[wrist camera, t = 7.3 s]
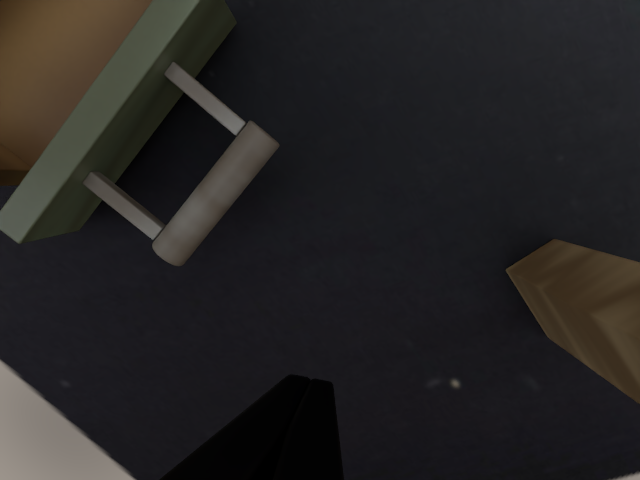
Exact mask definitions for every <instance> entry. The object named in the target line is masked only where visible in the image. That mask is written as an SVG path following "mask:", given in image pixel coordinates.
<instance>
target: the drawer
mask: <svg viewBox="0 0 640 480" xmlns="http://www.w3.org/2000/svg"><path fill="white" fill-rule="evenodd" d="M236 23H237V22H236V20H235V18H234V16H233V15H232V13H231V11H230V9H229V8H228V6H227V4H226V2H225V1H224V0H0V186H10V185H19V186H18V187H17V189H16V190H15V191H14V193H13V194H12V196H11V197H10V198H9V200H8V201H7V202H6V204H5V205H4V207H3V208H2V209H1V211H0V230H1V231H3V232H4V233H5V234H6V235H8V236H9V237H10V238H12V239H13V240H14V241H16V242H17V243H19V244H22V243H26V242H31V241H35V240H40V239H44V238H48V237H53V236H57V235H62V234H66V233H71V232H75V231H79V230H80V229H81V227H82V226H83V225H84V223H85V222H86V221H87V220H88V218H89V217H90V216H91V214H92V213H93V212H94V210H95V209H96V208H97V206H98V205H99V204H100V202H101V201H102V200H103V201H105V202H106V203H107V204H108V205H110V206H111V207H112V208H113V209H115V210H116V211H117V212H118V213H120V214H121V215H122V216H123V217H125V218H126V219H127V220H129V221H130V222H131V223H132V224H134V225H135V226H136V227H137V228H139V229H140V230H141V231H142V232H144V233H145V234H146V235H147V236H149V237H150V238H151V239H152V240H154V239H155V241H154V242H153V244H152V248H153V250H154V251H155V252H156V254H157V255H158V256H160V257H161V258H162V259H163V260H165V261H166V262H168V263H170V264H172V265H175V266H182V265H184V263H185V262H186V261H187V260H188V259H189V257H190V256H191V255H192V254H193V252H194V251H195V250H196V249H197V247H198V246H199V245H200V244H201V243H202V241H203V240H204V239H205V238H206V236H207V235H208V234H209V233H210V231H211V230H212V229H213V228H214V226H215V225H216V224H217V223H218V222H219V220H220V219H221V218H222V217H223V215H224V214H225V213H226V212H227V210H228V209H229V208H230V207H231V206H232V204H233V203H234V202H235V201H236V199H237V198H238V197H239V196H240V194H241V193H242V192H243V191H244V189H245V188H246V187H247V186H248V185H249V183H250V182H251V181H252V180H253V178H254V177H255V176H256V175H257V173H258V172H259V171H260V170H261V169H262V167H263V166H264V165H265V164H266V162H267V161H268V160H269V159H270V157H271V156H272V155H273V154H274V152H275V151H276V150H277V149H278V148H279V143H278V142H277V141H276V140H275V139H273V138H272V137H271V136H270V135H269V134H268V133H266V132H265V131H264V130H263V129H262V128H261V127H259V126H258V125H257V124H256V123H255V122H253V121H251V120H250V121H249V122H248V123H246V122H245V121H244V120H243V119H241V118H240V117H239V116H238V115H237V114H236V113H234V112H233V111H232V110H231V109H230V108H229V107H227V106H226V105H225V104H224V103H223V102H222V101H220V100H219V99H218V98H217V97H216V96H215V95H213V94H212V93H211V92H210V91H209V90H207V89H206V88H205V87H204V86H203V85H202V84H200V83H199V82H198V81H197V80H196V79H195V77H196V76H197V75H198V73H199V72H200V71H201V69H202V68H203V67H204V65H205V64H206V63H207V61H208V60H209V59H210V58H211V56H212V55H213V54H214V52H215V51H216V50H217V48H218V47H219V46H220V44H221V43H222V42H223V40H224V39H225V38H226V36H227V35H228V34H229V32H230V31H231V30H232V29H233V27H234V26H235V25H236ZM183 93H186V94H187V95H188V96H189V97H190V98H191V99H193V100H194V101H195V102H196V103H197V104H199V105H200V106H201V107H202V108H203V109H204V110H206V111H207V112H208V113H209V114H210V115H212V116H213V117H214V118H215V119H216V120H217V121H219V122H220V123H221V124H222V125H223V126H225V127H226V128H227V129H228V130H229V131H230V132H232V133H233V134H234V135H236V136H237V137H236V138H235V140H234V141H233V142H232V143H231V145H230V146H229V147H228V148H227V150H226V151H225V152H224V153H223V155H222V156H221V157H220V158H219V160H218V161H217V162H216V164H215V165H214V166H213V167H212V169H211V170H210V171H209V172H208V174H207V175H206V176H205V177H204V179H203V180H202V181H201V182H200V184H199V185H198V186H197V188H196V189H195V190H194V191H193V193H192V194H191V195H190V196H189V198H188V199H187V200H186V201H185V203H184V204H183V205H182V206H181V208H180V209H179V210H178V212H177V213H176V214H175V215H174V217H173V218H172V219H171V220H170V222H169V223H168V224H167V225H165V224H164V223H163V222H161V221H160V220H159V219H158V218H156V217H155V216H154V215H153V214H151V213H150V212H149V211H148V210H146V209H145V208H144V207H143V206H141V205H140V204H139V203H138V202H136V201H135V200H134V199H133V198H131V197H130V196H129V195H128V194H127V193H125V192H124V191H123V190H122V189H120V188H119V187H118V186H117V185H115V183H116V181H117V180H118V179H119V177H120V176H121V175H122V173H123V172H124V171H125V169H126V168H127V167H128V166H129V164H130V163H131V162H132V160H133V159H134V158H135V156H136V155H137V154H138V152H139V151H140V150H141V148H142V147H143V146H144V144H145V143H146V142H147V140H148V139H149V138H150V137H151V135H152V134H153V133H154V131H155V130H156V129H157V127H158V126H159V125H160V123H161V122H162V121H163V119H164V118H165V117H166V115H167V114H168V113H169V112H170V110H171V109H172V108H173V106H174V105H175V104H176V102H177V101H178V100H179V98H180V97H181V96H182V94H183Z"/></svg>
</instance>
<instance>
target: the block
mask: <svg viewBox="0 0 640 480" xmlns="http://www.w3.org/2000/svg"><path fill="white" fill-rule="evenodd" d="M506 272H507V274H508V275H509V277H510V278H511V280H512V281H513V283H514V285H515V286H516V288H517V289H518V291H519V293H520V294H521V296H522V297H523V299H524V300H525V302H526V304H527V305H528V307H529V308H530V310H531V312H532V313H533V315H534V316H535V318H536V319H537V321H538V323H539V324H540V326H541V327H542V329H543V331H544V332H545V334H546V335H547V337H548V338H549V339H551V340H552V341H554V342H555V343H556V344H558V345H559V346H560V347H562V348H563V349H565V350H566V351H567V352H569V353H570V354H571V355H573V356H574V357H576V358H577V359H578V360H580V361H581V362H582V363H584V364H585V365H587V366H588V367H589V368H591V369H592V370H593V371H595V372H596V373H598V374H599V375H600V376H602V377H603V378H604V379H606V380H607V381H609V382H610V383H611V384H613V385H614V386H616V387H617V388H618V389H620V390H621V391H622V392H624V393H625V394H627V395H628V396H629V397H631V398H632V399H633V400H635V401H636V402H638V403H639V404H640V262H636V261H632V260H629V259H625V258H622V257H618V256H614V255H611V254H607V253H604V252H600V251H596V250H593V249H589V248H586V247H582V246H578V245H575V244H571V243H568V242H564V241H560V240H557V239H553V240H551V241H550V242H548V243H547V244H545V245H543V246H542V247H540V248H539V249H537V250H536V251H534V252H532V253H531V254H529V255H528V256H526V257H525V258H523V259H521V260H520V261H518V262H517V263H515V264H513V265H512V266H510V267H509V268H507V269H506Z"/></svg>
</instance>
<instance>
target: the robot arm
mask: <svg viewBox="0 0 640 480" xmlns="http://www.w3.org/2000/svg"><path fill="white" fill-rule="evenodd" d="M160 480H344V476H343V468H342V459H341V450H340V441H339V432H338V423H337V415H336V406H335V397H334V388H333V384H332V383H331V382H330V381H324V380H319V379H312V380H310V379H309V378H308V377H304V376H299V375H293V374H290V375H288V376H286V377H285V378H284V379H283V380H281V381H280V382H279V383H278V384H276V385H275V386H274V387H273V388H271V389H270V390H269V391H268V392H267V393H265V394H264V395H263V396H262V397H260V398H259V399H258V400H257V401H255V402H254V403H253V404H252V405H251V406H249V407H248V408H247V409H246V410H244V411H243V412H242V413H241V414H240V415H238V416H237V417H236V418H235V419H233V420H232V421H231V422H230V423H228V424H227V425H226V426H225V427H224V428H222V429H221V430H220V431H219V432H217V433H216V434H215V435H214V436H212V437H211V438H210V439H209V440H208V441H206V442H205V443H204V444H203V445H201V446H200V447H199V448H198V449H196V450H195V451H194V452H193V453H192V454H190V455H189V456H188V457H187V458H185V459H184V460H183V461H182V462H181V463H179V464H178V465H177V466H176V467H174V468H173V469H172V470H171V471H169V472H168V473H167V474H166V475H165V476H163V477H162V478H161V479H160Z"/></svg>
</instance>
